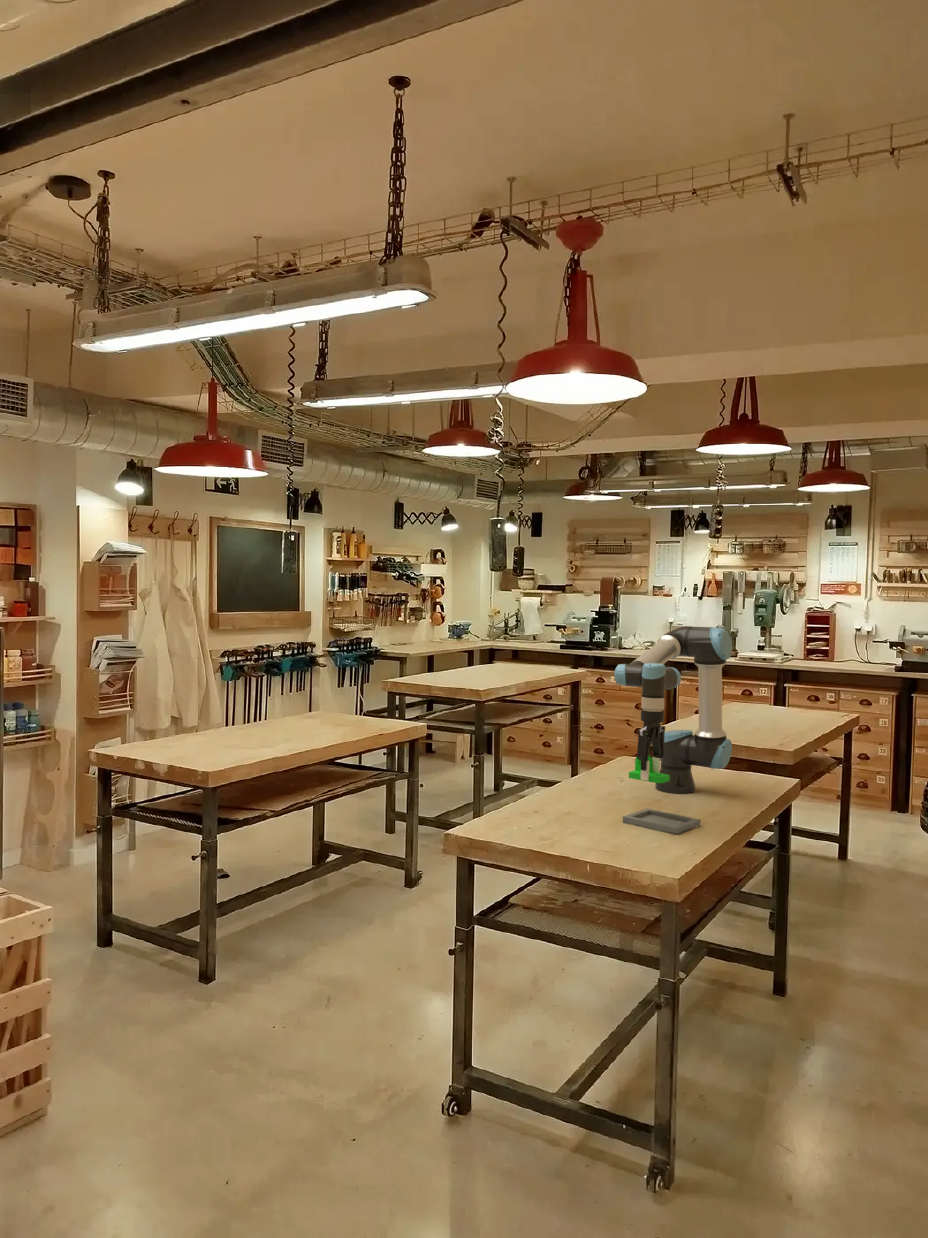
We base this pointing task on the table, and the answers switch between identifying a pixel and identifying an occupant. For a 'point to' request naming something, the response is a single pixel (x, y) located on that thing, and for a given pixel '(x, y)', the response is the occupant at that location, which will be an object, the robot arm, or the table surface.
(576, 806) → the table surface
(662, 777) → the mechanical part
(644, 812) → the locating tray
